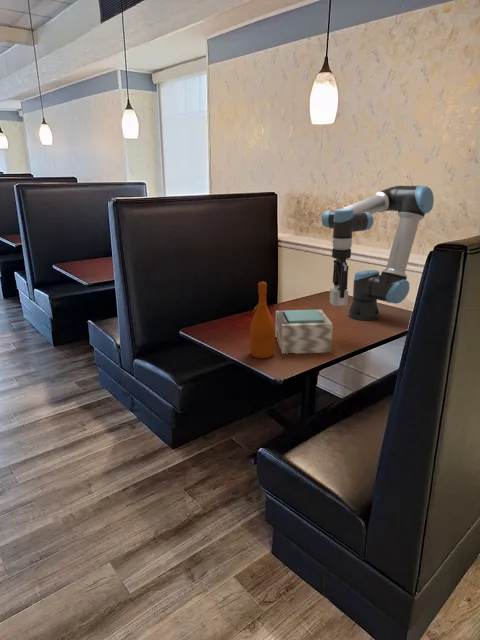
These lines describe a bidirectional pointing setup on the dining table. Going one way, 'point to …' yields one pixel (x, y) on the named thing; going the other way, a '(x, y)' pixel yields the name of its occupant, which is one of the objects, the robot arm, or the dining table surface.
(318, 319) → the trapdoor
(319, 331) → the crate
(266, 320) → the wine bottle
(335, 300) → the light grey cube
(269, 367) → the dining table surface
